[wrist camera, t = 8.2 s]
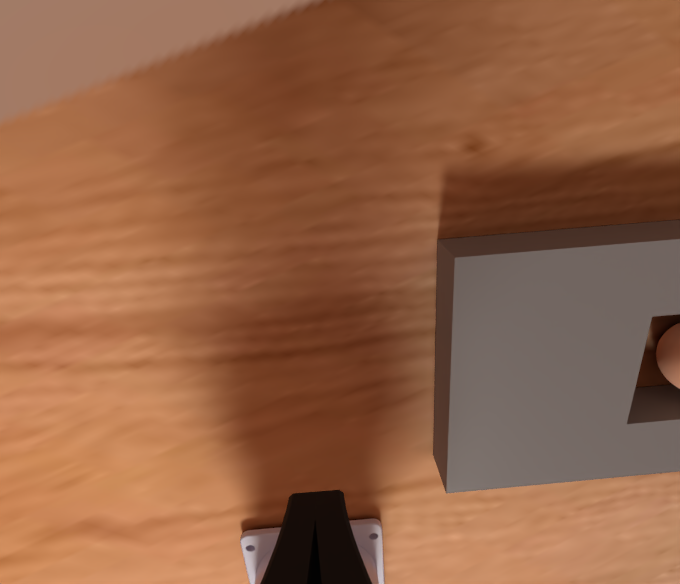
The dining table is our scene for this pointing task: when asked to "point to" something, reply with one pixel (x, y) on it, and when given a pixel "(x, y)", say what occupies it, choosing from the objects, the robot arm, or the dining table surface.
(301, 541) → the robot arm
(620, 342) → the hole deck
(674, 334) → the ball
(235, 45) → the dining table surface
